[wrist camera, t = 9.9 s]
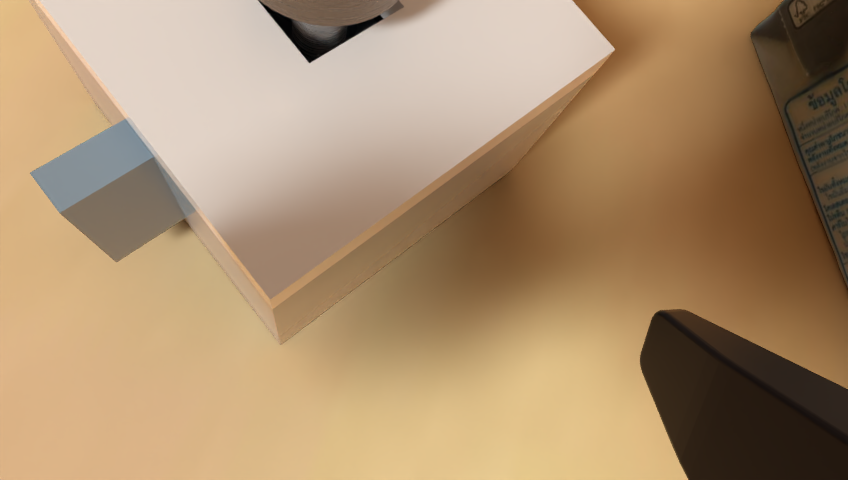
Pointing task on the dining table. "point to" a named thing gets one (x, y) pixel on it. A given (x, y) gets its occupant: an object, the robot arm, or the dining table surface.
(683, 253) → the dining table surface
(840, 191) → the dark grey rectangular box
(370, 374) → the dining table surface
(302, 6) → the joystick lever
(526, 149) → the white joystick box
